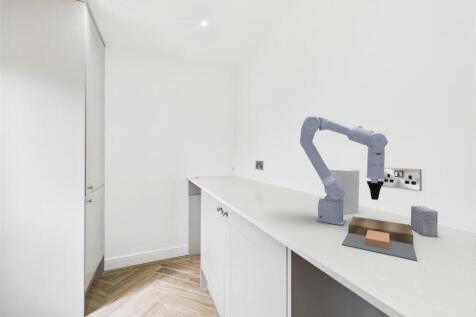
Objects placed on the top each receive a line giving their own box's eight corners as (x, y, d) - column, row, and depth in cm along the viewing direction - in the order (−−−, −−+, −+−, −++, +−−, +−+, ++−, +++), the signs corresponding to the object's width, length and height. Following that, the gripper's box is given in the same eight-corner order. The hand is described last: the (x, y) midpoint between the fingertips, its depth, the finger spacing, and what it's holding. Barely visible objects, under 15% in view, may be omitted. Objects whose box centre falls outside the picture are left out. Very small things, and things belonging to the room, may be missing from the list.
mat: (341, 245, 69) (341, 244, 69) (347, 233, 79) (347, 232, 79) (417, 261, 59) (417, 259, 59) (413, 245, 69) (413, 244, 69)
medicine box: (437, 237, 77) (438, 211, 77) (422, 236, 78) (423, 210, 78) (423, 229, 85) (424, 206, 84) (410, 228, 85) (410, 205, 85)
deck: (348, 232, 80) (348, 224, 80) (352, 224, 90) (353, 216, 90) (412, 244, 70) (413, 234, 70) (410, 233, 80) (410, 224, 80)
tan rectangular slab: (365, 244, 69) (365, 238, 69) (367, 235, 76) (367, 229, 76) (389, 249, 66) (389, 242, 66) (389, 239, 73) (389, 233, 73)
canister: (359, 209, 114) (360, 169, 113) (357, 215, 102) (358, 171, 102) (330, 206, 121) (330, 168, 120) (325, 211, 109) (326, 169, 108)
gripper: (387, 165, 81) (386, 204, 81) (388, 164, 93) (387, 197, 93) (365, 165, 84) (364, 201, 85) (368, 163, 97) (367, 195, 97)
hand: (374, 199), depth 89 cm, fingers closed
